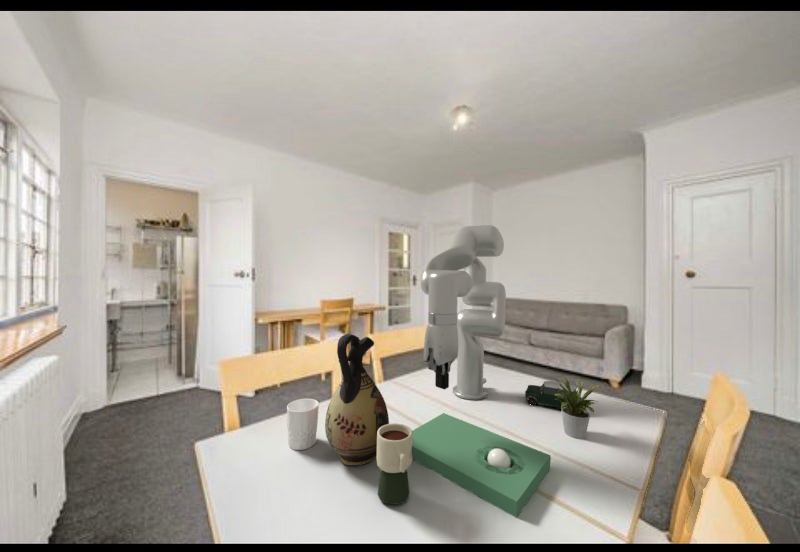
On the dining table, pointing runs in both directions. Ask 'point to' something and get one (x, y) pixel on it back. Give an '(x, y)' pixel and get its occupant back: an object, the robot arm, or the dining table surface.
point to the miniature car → (547, 394)
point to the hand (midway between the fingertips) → (442, 387)
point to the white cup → (302, 423)
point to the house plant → (575, 410)
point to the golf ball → (499, 459)
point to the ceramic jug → (355, 406)
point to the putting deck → (480, 461)
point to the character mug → (394, 462)
